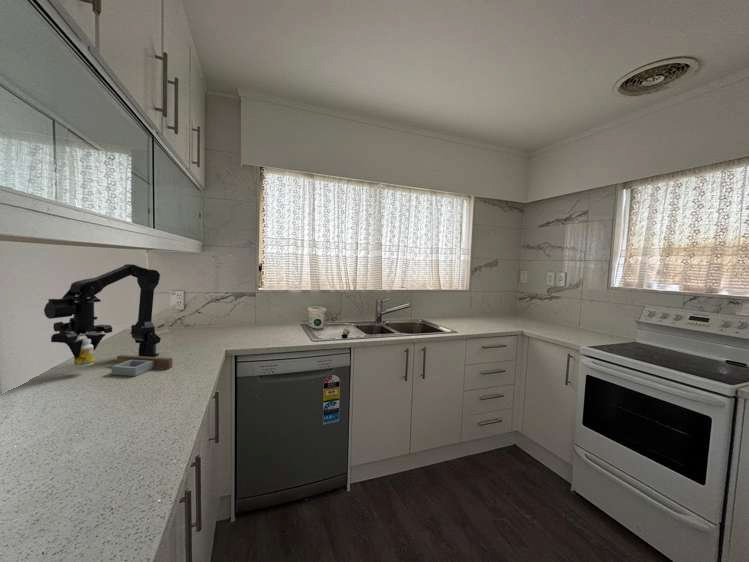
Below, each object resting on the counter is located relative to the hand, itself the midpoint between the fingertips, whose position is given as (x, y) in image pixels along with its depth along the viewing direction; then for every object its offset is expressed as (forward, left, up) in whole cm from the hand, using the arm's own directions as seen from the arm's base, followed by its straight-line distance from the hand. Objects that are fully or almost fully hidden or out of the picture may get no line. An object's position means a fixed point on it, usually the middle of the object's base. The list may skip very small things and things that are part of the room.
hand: (84, 355), depth 119 cm
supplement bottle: (0, 0, -4) cm, 4 cm away
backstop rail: (-11, +15, -7) cm, 20 cm away
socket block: (-5, +15, -7) cm, 17 cm away
